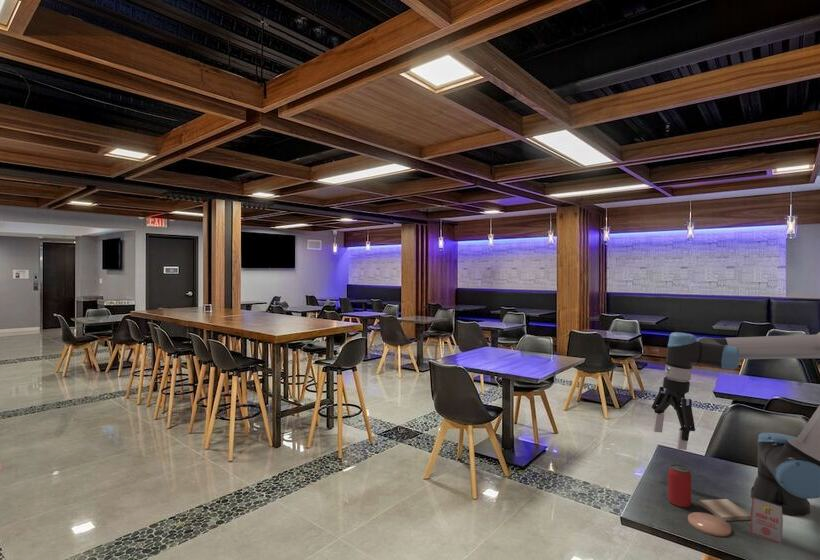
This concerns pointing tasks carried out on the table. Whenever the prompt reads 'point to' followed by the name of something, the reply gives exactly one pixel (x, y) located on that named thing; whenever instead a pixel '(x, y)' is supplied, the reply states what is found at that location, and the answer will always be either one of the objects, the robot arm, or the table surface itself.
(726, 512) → the square tan board
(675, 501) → the beer can
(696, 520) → the coaster
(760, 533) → the printed cardboard carton
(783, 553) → the table surface
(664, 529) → the table surface
